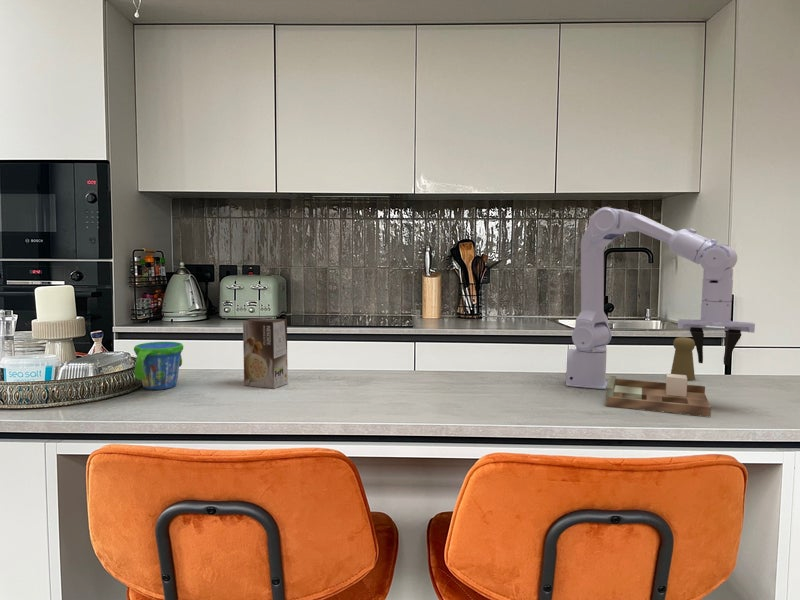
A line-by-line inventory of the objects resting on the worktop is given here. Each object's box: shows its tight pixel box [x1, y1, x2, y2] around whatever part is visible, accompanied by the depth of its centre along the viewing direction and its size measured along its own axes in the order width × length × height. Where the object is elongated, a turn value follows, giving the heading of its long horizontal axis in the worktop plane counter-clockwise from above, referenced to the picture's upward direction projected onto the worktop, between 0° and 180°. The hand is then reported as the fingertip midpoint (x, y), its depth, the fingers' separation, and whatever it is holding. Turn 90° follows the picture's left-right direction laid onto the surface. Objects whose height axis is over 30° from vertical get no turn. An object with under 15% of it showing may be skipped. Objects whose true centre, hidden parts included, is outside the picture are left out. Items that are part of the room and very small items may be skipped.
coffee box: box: [242, 317, 289, 389], centre depth 143 cm, size 9×6×16 cm
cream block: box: [665, 373, 688, 397], centre depth 130 cm, size 4×4×4 cm
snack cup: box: [133, 341, 184, 391], centre depth 139 cm, size 16×10×10 cm
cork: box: [670, 336, 696, 382], centre depth 157 cm, size 6×6×11 cm
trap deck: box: [605, 375, 712, 417], centre depth 129 cm, size 20×14×4 cm
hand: (713, 363), depth 127 cm, fingers open, 4 cm apart
